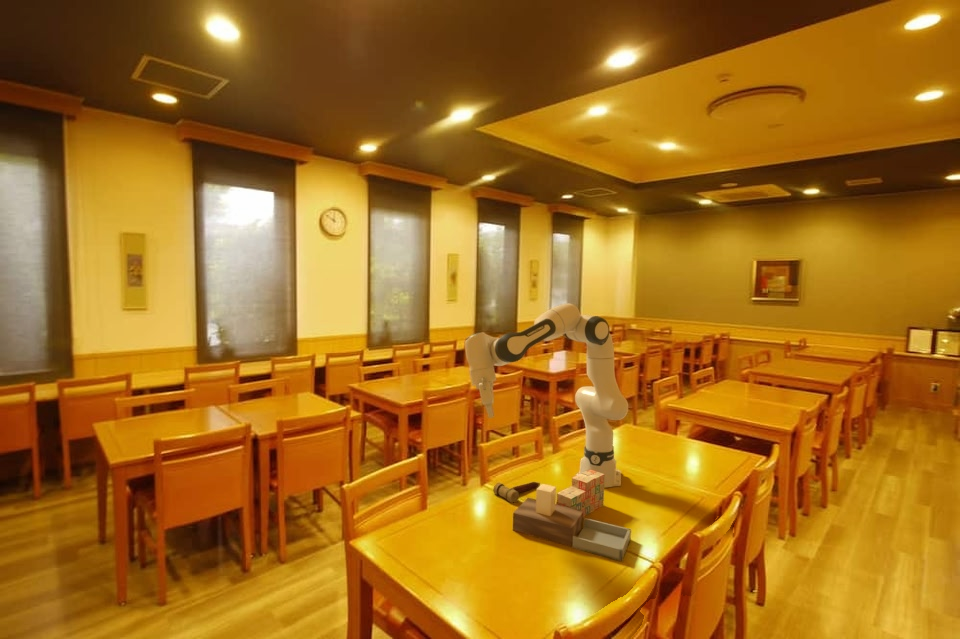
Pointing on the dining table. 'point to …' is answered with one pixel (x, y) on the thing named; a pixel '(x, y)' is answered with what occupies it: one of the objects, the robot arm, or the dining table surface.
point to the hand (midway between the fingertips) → (491, 417)
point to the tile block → (545, 499)
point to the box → (603, 539)
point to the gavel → (513, 490)
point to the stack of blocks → (584, 492)
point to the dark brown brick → (548, 522)
